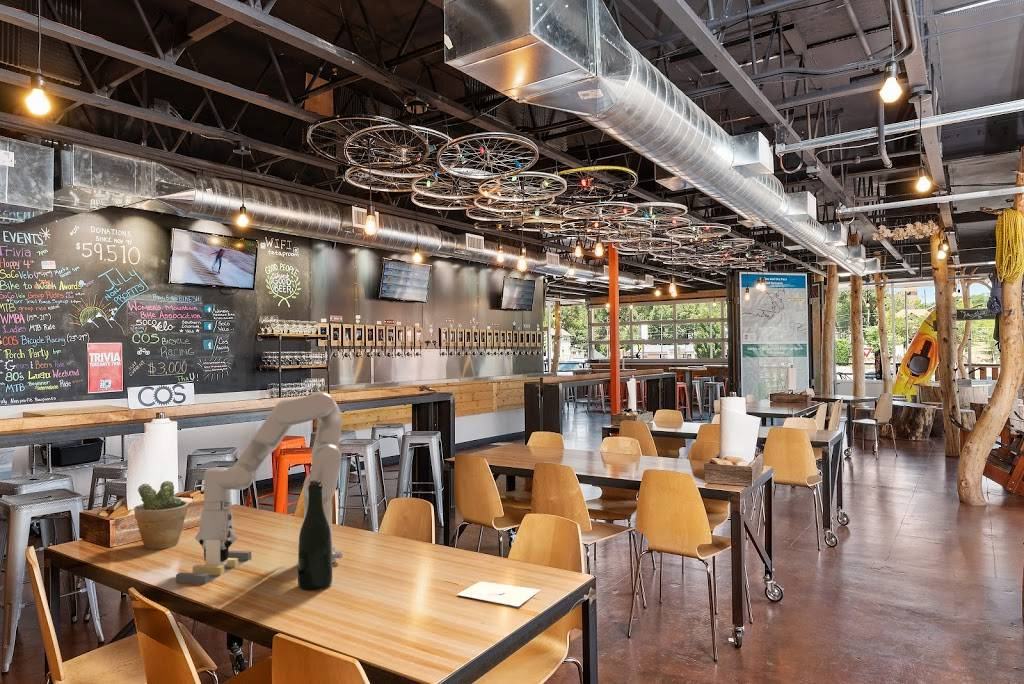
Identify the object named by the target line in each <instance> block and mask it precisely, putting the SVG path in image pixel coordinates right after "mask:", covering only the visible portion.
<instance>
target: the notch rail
mask: <svg viewBox="0 0 1024 684" xmlns="http://www.w3.org/2000/svg"><path fill="white" fill-rule="evenodd" d="M251 560H252V550H250V551H248V550H228V559H227V564H226V565H224V566H218V565H206V564H195V565H192V572H178V573H177V574H176V575H175V583H177V584H191V585H192V584H193V585H195V584H196V585H206V584H208V583H210V582H212V581H214V580H216V579H218V578H219V577H221V576H222V575H223V576H224V574H226V573H229V572H230V571H232V570H234V569H235V568H237V567H239V566H241V565H242V564H243V565H244V564H245V563H246V562H248V561H251Z"/></svg>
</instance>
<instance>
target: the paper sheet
mask: <svg viewBox="0 0 1024 684" xmlns="http://www.w3.org/2000/svg"><path fill="white" fill-rule="evenodd" d="M540 591H541V589H539V588H532V587H523V586H517V585H510V584H503V583H493V582H488V581H478V582H477V583H475V584H473V585H471V586H469V587H468V588H466V589H464V590H462V591H460V592H458V593H457V594H456V595H457V596H462V597H467V598H472V599H476V600H481V601H486V602H487V601H488V602H491V603H492V602H493V603H497V604H503V605H507V606H508V605H509V606H512V607H520V606H522V605H523V604H524V603H526V602H527V601H528V600H529V599H531V598H532V597H533V596H534V595H536V594H538V593H539V592H540Z"/></svg>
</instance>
